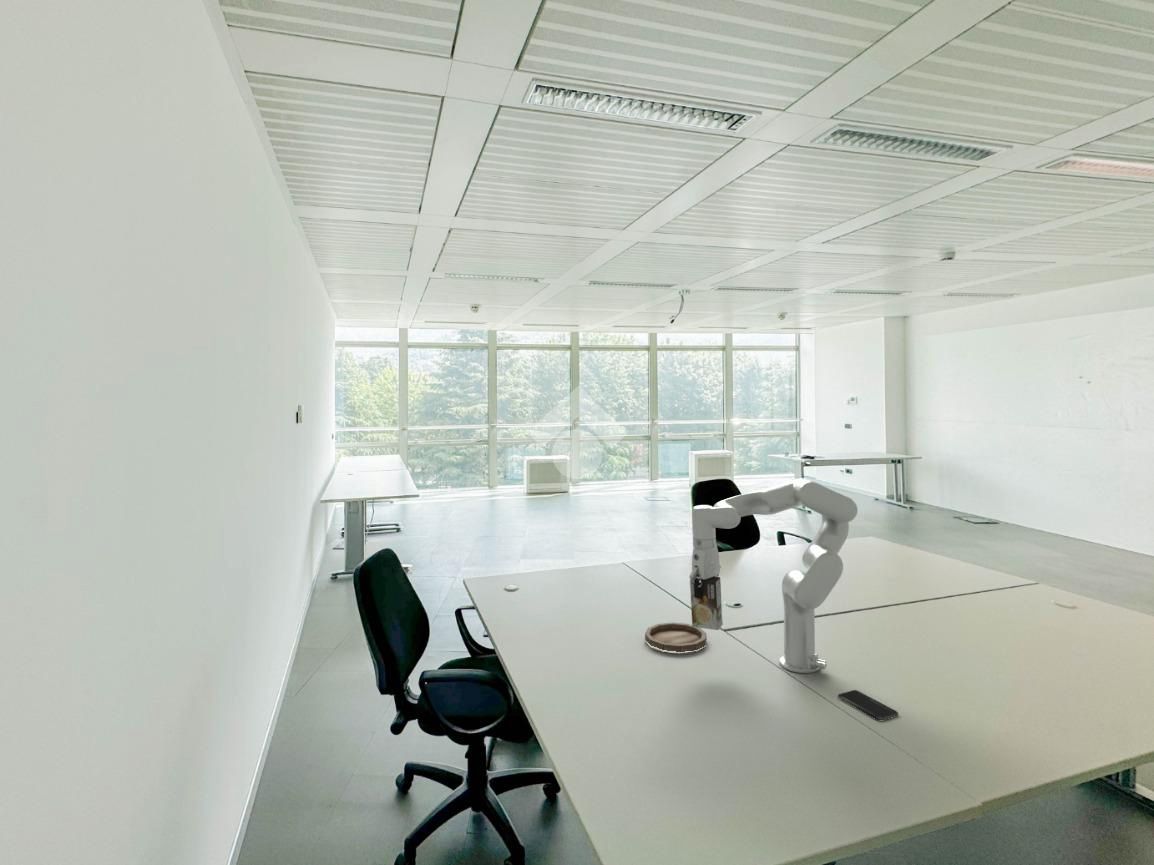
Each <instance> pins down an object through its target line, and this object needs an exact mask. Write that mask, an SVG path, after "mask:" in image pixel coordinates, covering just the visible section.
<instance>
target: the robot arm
mask: <svg viewBox="0 0 1154 865" xmlns="http://www.w3.org/2000/svg"><path fill="white" fill-rule="evenodd" d="M801 506H803V507H805V508H806V509H809V510H811V511H813V512H815V513H817V514H820V515H821V525H820V528H819V529H818V531H817V533H816V535H815V536H814V537H813V538H812V541H811V542H810V543H809V545H808V546H807V548H806V549H805V551H804V552H803V554H802V559H801V560H802V564H803V566H804V567H805V568H806V569H807V571H806V572H804V571H802V570H798V569H794V570H790V571H788V572H787V573H785V574H784V576H783V578H782V580H781V594H782V600H783V633H784V634H783V636H784V637H783V643H784V644H783V645H784V651H783V652H784V654H783V655H781V657H780V658H779V665H780V666H781V667H782V668H784V669H785V670H787V671H790V672H793V673H798V674H799V673H800V674H812V673H815V672H817V671H819V670H820V669H822V670H826V669H827V660H825V659H821V658H819V654H818V653H817V652H816V650H815V649H816V646H815V645H816V643H815V637H816V636H815V631H816V630H815V609H817V608H819V607H821V605H822V604H823V603H824V602H825V601H826V599H827V598H828V596H829V595H830V593H831V592H832V590H833V589H834V587H835V586H836V584H837V583H838V582H839V580H840V578H841V577H842V575H843V570H844V563H843V560H842V558H841V556H840V555H839V552H840V550H841V549H842V547H843V546H844V544H845V542H846V540H847V538H848V536H849V532H850V531H849V530H850V524H849V523H850V522H852V521H853V520H855V518H856V517H857V515H858V506H857V504H856V502H855V501H854V500H853V499H852V498H851V497H848V496H846V495H844V494H842V493H839V492H838V491H835V490H832V489H830V488H828V487H826V486H824V485H821V484H820V483H818V482H815V481H813V480H810V479H808V478H797V479H794V480H789V481H787V482H783V483H781V484H778V485H774V486H772V487H768V488H765V489H762V490H757V491H752V492H748V493H743V494H739V495H735V496H732V497H729V498H726V499H723V500H720V501H718V502H716V503H715V504H714V505H713V506H712V505H709V504H700V505H699V504H698V505H695V506H693V507H692V509H691V521H692V522H691V524H692V527H691V528H692V529H691V530H692V547H693V548H692V558H691V573H690V574H689V581H690V580H691V582H692V584H693V586H694V597H695V598H699V599H703V587H702V583H703V580H706V579H709V578H712V577H720V576H719V574H720V573H721V567H722V566H721V564H720V555H719V550H718V545H717V538H716V537H717V536H716V528H718V529H729V530H730V529H734V528H736V527H737V526H738V525H739V524H740V522H741V518H742V517H746V516H752V515H753V516H754V515H761V516H770V515H775V514H778V513H781V512H784V511H787V510H791V509H793V508H797V507H801ZM699 576H700V577H699ZM698 579H700V581H699V582H698V581H697V580H698Z"/></svg>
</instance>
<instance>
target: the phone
mask: <svg viewBox="0 0 1154 865" xmlns="http://www.w3.org/2000/svg"><path fill="white" fill-rule="evenodd" d="M837 698H838V699H839V698H840V699H841V700H840V699H839V700H840V701H842V700H843V701H842V702H844V701H845V702H844V703H846V702H847V703H849V704H850V705H849V704H848V705H849V706H851V705H852V706H851V707H853V706H854V707H856V708H857V709H856V708H855V709H856V710H858V709H859V710H858V711H860V710H861V711H862V713H863V712H864V713H863V714H865V713H866V714H865V715H866V716H868V715H869V716H868V717H870V716H871V717H870V718H872V717H873V718H872V719H874V718H875V719H877V720H876V721H878V720H884V721H886V720H885V719H887V720H889V719H888V718H890V719H892V718H891V717H894V716H897V715H898V716H899V712H898V711H897V710H895V709H893V708H891V707H890V706H888V705H886V704H883V703H882V702H880V701H878V700H876V699H874V698H872V697H870V696H869V695H866V694H865V693H863V692H862V691H859V690H856V689H853V690H849V691H845V692H842V693H839V694H837ZM847 703H846V704H847ZM854 707H853V708H854ZM861 711H860V712H861ZM898 716H897V717H898ZM894 718H895V717H894ZM875 719H874V720H875Z"/></svg>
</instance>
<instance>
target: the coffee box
mask: <svg viewBox="0 0 1154 865" xmlns="http://www.w3.org/2000/svg"><path fill="white" fill-rule="evenodd" d="M699 577H700V576H699ZM697 581H698V582H699V581H700V579H698V580H697ZM721 584H722V583H721V577H720V576H718V577H712V578H709V579H706V580H703V583H702V587H703V599H699V598H695V597H694V586H693V584H692V582H691V580H690V579H689V585H690V586H689V589H690V608H691V625H692V627H698V628H701V629H707V630H713V631H714V630H715V631H720V629H721V627H722V626H723V607H722V590H721V589H722V586H721Z"/></svg>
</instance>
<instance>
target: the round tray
mask: <svg viewBox="0 0 1154 865" xmlns="http://www.w3.org/2000/svg"><path fill="white" fill-rule="evenodd" d="M645 640H646V641H647V642H648V643H649V644H650V645H651V646H654V647H657V648H659V649H662V650H667V651H676V652H685V651H694V650H698V649H700V648H702V647H704V646H705V645H707V642H706V640H707V632H706V631H704V630H703V628H698V627H692V624H689V623H685V622H682V623H681V622H664V623H657V624H654V625H652V626H650V627H647V629H646V632H644V641H645Z"/></svg>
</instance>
